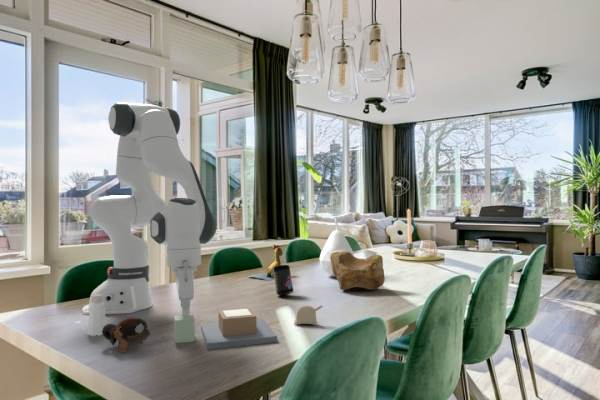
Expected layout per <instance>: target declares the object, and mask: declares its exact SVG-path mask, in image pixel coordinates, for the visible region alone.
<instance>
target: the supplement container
mask: <svg viewBox="0 0 600 400" xmlns="http://www.w3.org/2000/svg"><path fill="white" fill-rule="evenodd" d="M273 273H274V280H273V281H274V285H275V292H276V295H277V296H280V297H281V296H288V295H291V294H293V293H294V287H293V285H294V284H293V279H292V273H291V267H290V265H289V264H281V266H276V267H274V268H273Z"/></svg>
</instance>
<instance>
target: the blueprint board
mask: <svg viewBox="0 0 600 400" xmlns="http://www.w3.org/2000/svg"><path fill="white" fill-rule="evenodd" d="M200 330H201V333H202V337H203V341H204V343H205V347H206V350H214V349H215V350H216V349H225V348H233V347H242V346H250V345H252V346H253V345H261V344H270V343H277V342H278V335H277V334H276V333H275V332H274V331H273V330H272V328H271V327H270V326H269V325H268V324H267V322H266V321H265V320H264V318H262V317H261V318H257V315H256V313H255V312H254V311H253V310H252V308H250V307H248V308H247V307H246V308H239V309H238V308H236V309H226V310H223V309H222V310H218V321H217V322H210V323H208V322H207V323H201V324H200Z"/></svg>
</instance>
